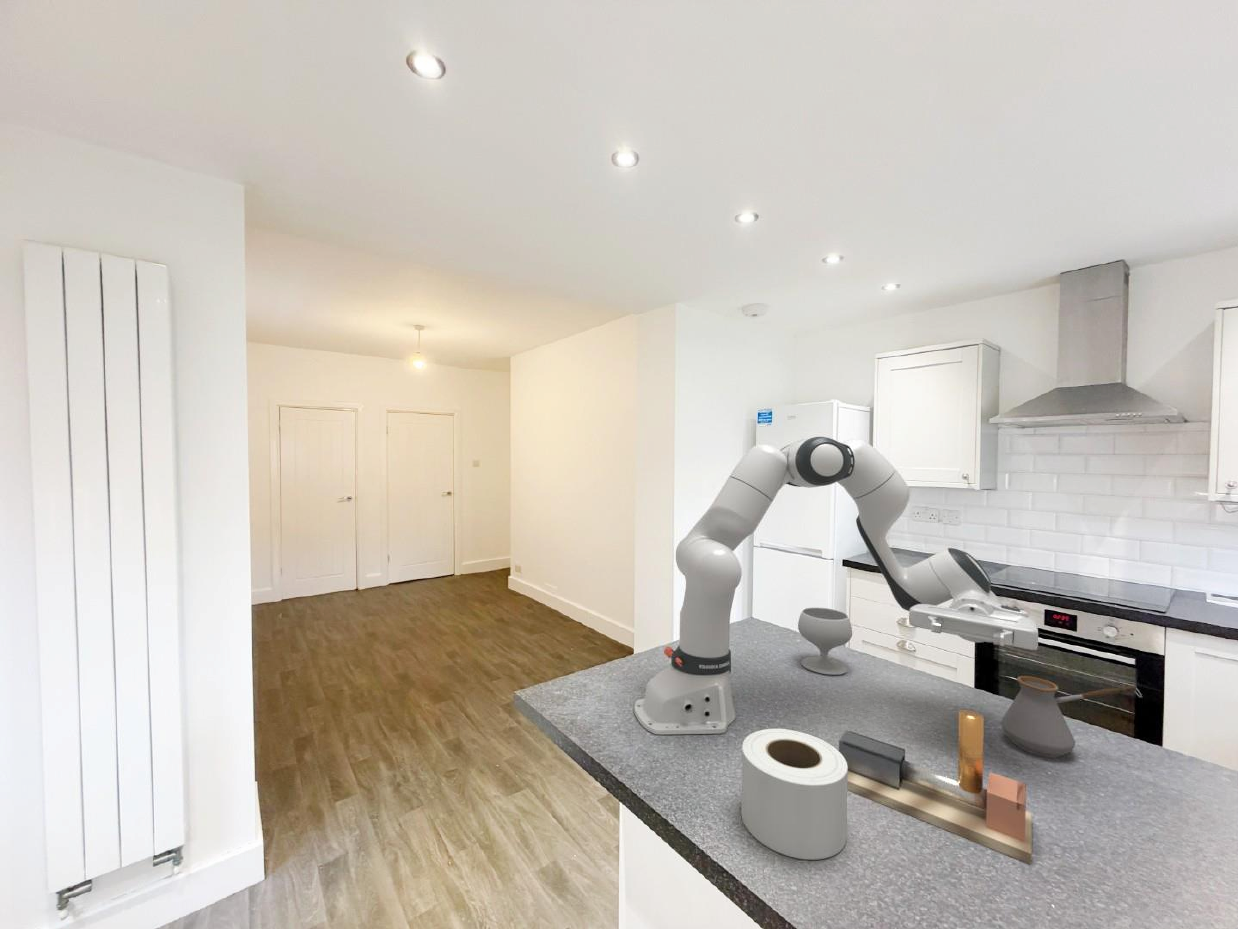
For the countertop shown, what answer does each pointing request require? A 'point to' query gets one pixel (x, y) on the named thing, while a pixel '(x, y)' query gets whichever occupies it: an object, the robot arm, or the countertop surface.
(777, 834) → the toilet paper roll
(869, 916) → the countertop surface
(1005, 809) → the socket
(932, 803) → the board
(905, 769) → the tube
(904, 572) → the robot arm
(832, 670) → the chalice
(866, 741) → the sleeve
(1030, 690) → the coffee pot
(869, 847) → the countertop surface
